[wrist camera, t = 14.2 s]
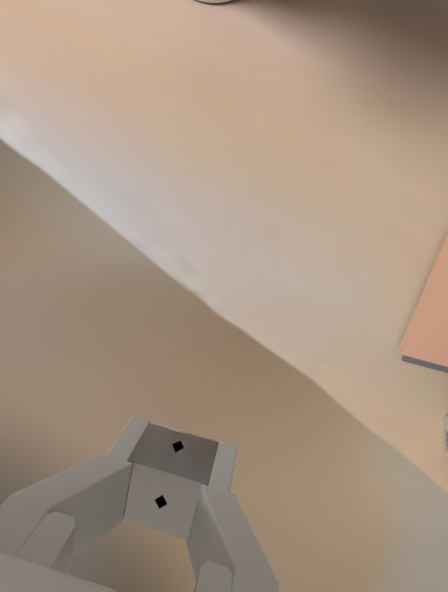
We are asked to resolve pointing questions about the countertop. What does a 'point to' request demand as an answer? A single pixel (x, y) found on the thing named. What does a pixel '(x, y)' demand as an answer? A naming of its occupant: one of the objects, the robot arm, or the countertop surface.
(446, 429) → the coffee box
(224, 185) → the countertop surface
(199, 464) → the robot arm
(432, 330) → the tile
